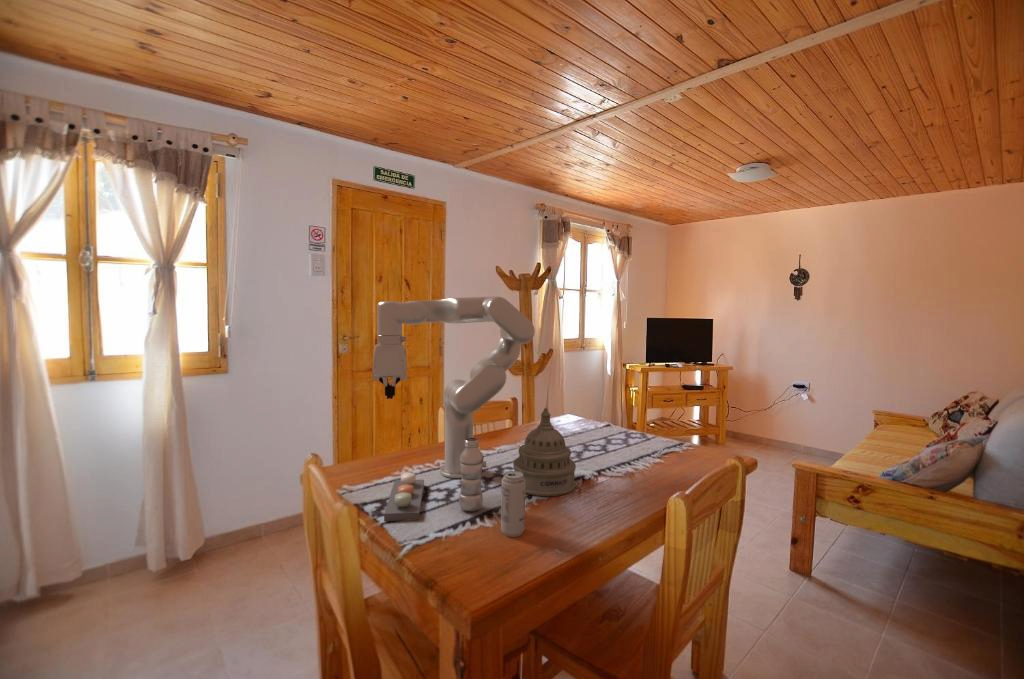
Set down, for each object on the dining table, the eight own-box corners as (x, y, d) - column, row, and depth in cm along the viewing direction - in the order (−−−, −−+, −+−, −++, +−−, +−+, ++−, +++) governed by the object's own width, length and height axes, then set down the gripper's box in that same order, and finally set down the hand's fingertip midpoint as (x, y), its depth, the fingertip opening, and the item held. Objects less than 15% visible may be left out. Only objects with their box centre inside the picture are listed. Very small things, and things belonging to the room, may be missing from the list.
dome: (506, 412, 140) (522, 399, 159) (504, 492, 142) (521, 470, 161) (572, 417, 134) (581, 403, 154) (570, 501, 136) (579, 476, 156)
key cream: (416, 478, 144) (416, 472, 143) (415, 484, 139) (415, 477, 139) (401, 479, 143) (401, 473, 143) (400, 484, 139) (400, 478, 138)
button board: (424, 485, 146) (424, 479, 146) (418, 519, 123) (418, 512, 123) (394, 486, 145) (394, 480, 145) (384, 521, 122) (384, 513, 122)
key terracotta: (414, 490, 136) (414, 484, 136) (413, 497, 132) (413, 490, 132) (398, 491, 136) (398, 484, 135) (397, 497, 131) (397, 490, 131)
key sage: (412, 499, 129) (412, 492, 129) (410, 506, 124) (410, 498, 124) (395, 499, 128) (395, 492, 128) (393, 506, 124) (393, 499, 124)
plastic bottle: (460, 503, 133) (461, 435, 132) (484, 504, 133) (484, 436, 131) (457, 514, 127) (457, 442, 125) (481, 514, 127) (482, 443, 125)
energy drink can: (525, 537, 115) (526, 478, 113) (501, 538, 114) (502, 479, 113) (523, 526, 120) (524, 470, 119) (500, 526, 120) (500, 470, 119)
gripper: (414, 339, 150) (414, 395, 152) (367, 339, 149) (367, 395, 150) (412, 341, 143) (412, 400, 144) (362, 341, 141) (363, 400, 143)
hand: (390, 397), depth 147 cm, fingers closed
